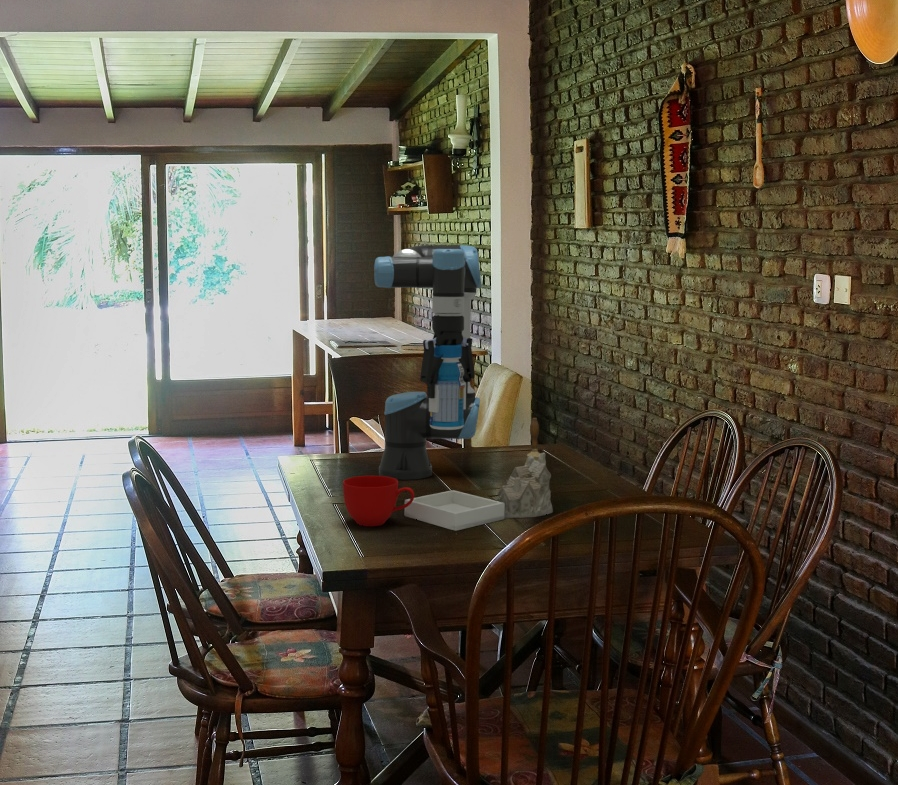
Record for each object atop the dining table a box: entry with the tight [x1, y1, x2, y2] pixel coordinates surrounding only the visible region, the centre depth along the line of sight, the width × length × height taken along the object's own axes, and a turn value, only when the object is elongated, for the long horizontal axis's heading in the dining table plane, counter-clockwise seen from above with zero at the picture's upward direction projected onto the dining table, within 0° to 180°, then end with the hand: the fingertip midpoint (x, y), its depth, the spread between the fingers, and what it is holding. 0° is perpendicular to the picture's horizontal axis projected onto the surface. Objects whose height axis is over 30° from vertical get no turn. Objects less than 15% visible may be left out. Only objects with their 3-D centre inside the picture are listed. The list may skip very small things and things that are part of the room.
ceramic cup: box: [342, 475, 415, 527], centre depth 259 cm, size 13×17×10 cm
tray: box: [404, 489, 505, 531], centre depth 265 cm, size 18×16×4 cm
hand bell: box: [523, 417, 542, 466], centre depth 317 cm, size 8×8×16 cm
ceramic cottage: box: [496, 452, 554, 519], centre depth 273 cm, size 16×16×15 cm
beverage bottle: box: [430, 344, 465, 430], centre depth 262 cm, size 8×8×20 cm
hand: (447, 410), depth 263 cm, fingers closed on beverage bottle, 8 cm apart
